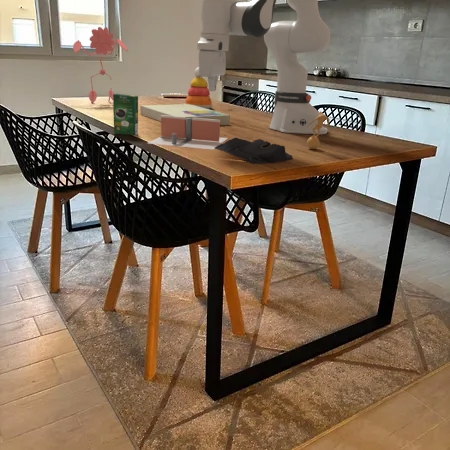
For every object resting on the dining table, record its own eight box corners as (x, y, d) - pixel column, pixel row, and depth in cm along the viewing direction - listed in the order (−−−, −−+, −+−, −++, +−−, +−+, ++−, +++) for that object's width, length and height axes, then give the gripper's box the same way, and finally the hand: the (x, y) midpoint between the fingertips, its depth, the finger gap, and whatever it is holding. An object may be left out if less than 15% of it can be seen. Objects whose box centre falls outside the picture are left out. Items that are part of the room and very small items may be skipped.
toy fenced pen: (227, 139, 154) (228, 129, 153) (213, 151, 136) (213, 139, 135) (168, 134, 158) (168, 123, 157) (146, 144, 140) (146, 133, 139)
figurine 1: (73, 102, 225) (69, 24, 212) (123, 101, 239) (121, 28, 226) (84, 107, 213) (80, 25, 200) (135, 105, 228) (135, 29, 214)
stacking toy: (209, 111, 220) (211, 68, 213) (181, 109, 222) (181, 66, 215) (215, 107, 233) (216, 67, 226) (187, 105, 235) (188, 65, 228)
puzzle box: (188, 114, 212) (139, 115, 200) (188, 103, 210) (139, 104, 198) (230, 126, 184) (175, 129, 172) (230, 115, 182) (176, 116, 170)
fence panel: (219, 140, 147) (220, 119, 144) (218, 141, 145) (219, 120, 143) (192, 138, 148) (193, 117, 146) (191, 139, 147) (192, 118, 145)
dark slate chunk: (247, 146, 147) (248, 131, 146) (296, 161, 131) (298, 144, 129) (208, 150, 139) (209, 135, 137) (256, 167, 122) (257, 149, 121)
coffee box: (139, 135, 154) (138, 95, 149) (135, 136, 151) (134, 95, 146) (117, 133, 156) (116, 93, 151) (113, 134, 153) (111, 94, 148)
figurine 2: (318, 147, 150) (322, 109, 145) (330, 150, 145) (335, 112, 140) (298, 148, 146) (302, 110, 141) (310, 152, 141) (314, 112, 136)
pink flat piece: (192, 139, 149) (193, 117, 146) (190, 140, 147) (191, 118, 144) (162, 136, 151) (162, 114, 148) (160, 137, 149) (160, 115, 146)
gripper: (212, 45, 152) (210, 88, 157) (195, 43, 133) (194, 92, 138) (231, 46, 151) (228, 89, 156) (216, 44, 132) (214, 93, 137)
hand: (212, 91), depth 147 cm, fingers closed
